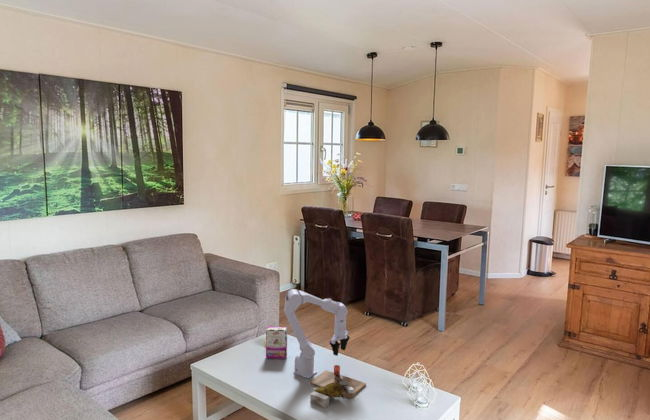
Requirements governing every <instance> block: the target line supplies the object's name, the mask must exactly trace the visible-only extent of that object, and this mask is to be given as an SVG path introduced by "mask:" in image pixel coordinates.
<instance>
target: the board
mask: <svg viewBox="0 0 650 420" xmlns="http://www.w3.org/2000/svg"><path fill="white" fill-rule="evenodd" d="M340 376H341V377H342V378H343V379H346V380H348V381H349V386H350V387H352V388H353V389H354V393H353V394H347V392H346V390H345V389H344V388H343V392H342V394H341V396H342V397H345V398H346V399H350V400H351V399H353V397H354V396H356V395H357V394H359V392H361V391H362V390H363V389H364V388H365V387H366V386H367V383H366V382H363V381H361V380H357V379H355V378H351V377H349V376H345V375H342V374H340ZM334 382H337V383H339V382H338V381H337V379H336V378H335V375H334V371H329V370H324V371H323V372H321V373H320V374H318V375H317V376H316V377H314V378H313V379H311V380H310V381H309V383H308V384H309V385H310V386H313V387H315V388H319V387H322V386H326V385H328V384H330V383H334ZM341 396H340V397H341ZM309 399H310V404H314V405H317V406H319V407H322V408H324V409H327V407H329V406H330V398H329V396H326V395H323V394H320V393H318V392H315V390H313V392H311V393H310V398H309Z"/></svg>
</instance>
